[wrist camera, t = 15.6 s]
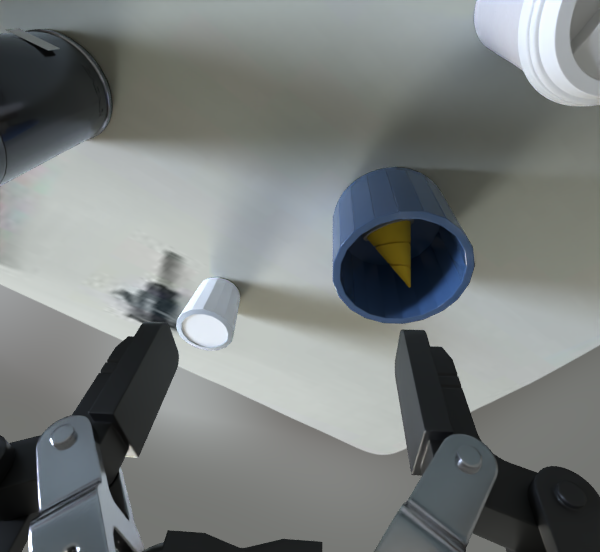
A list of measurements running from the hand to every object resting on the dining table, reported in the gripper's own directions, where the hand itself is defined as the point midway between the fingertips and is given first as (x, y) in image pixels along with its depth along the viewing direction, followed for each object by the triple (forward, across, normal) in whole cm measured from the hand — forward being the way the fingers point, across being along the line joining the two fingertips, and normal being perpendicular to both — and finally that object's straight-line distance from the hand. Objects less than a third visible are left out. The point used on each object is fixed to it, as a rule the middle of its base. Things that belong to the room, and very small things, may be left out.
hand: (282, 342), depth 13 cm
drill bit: (+28, -8, +10) cm, 30 cm away
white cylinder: (+28, +13, +21) cm, 38 cm away
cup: (+28, -8, +10) cm, 31 cm away
